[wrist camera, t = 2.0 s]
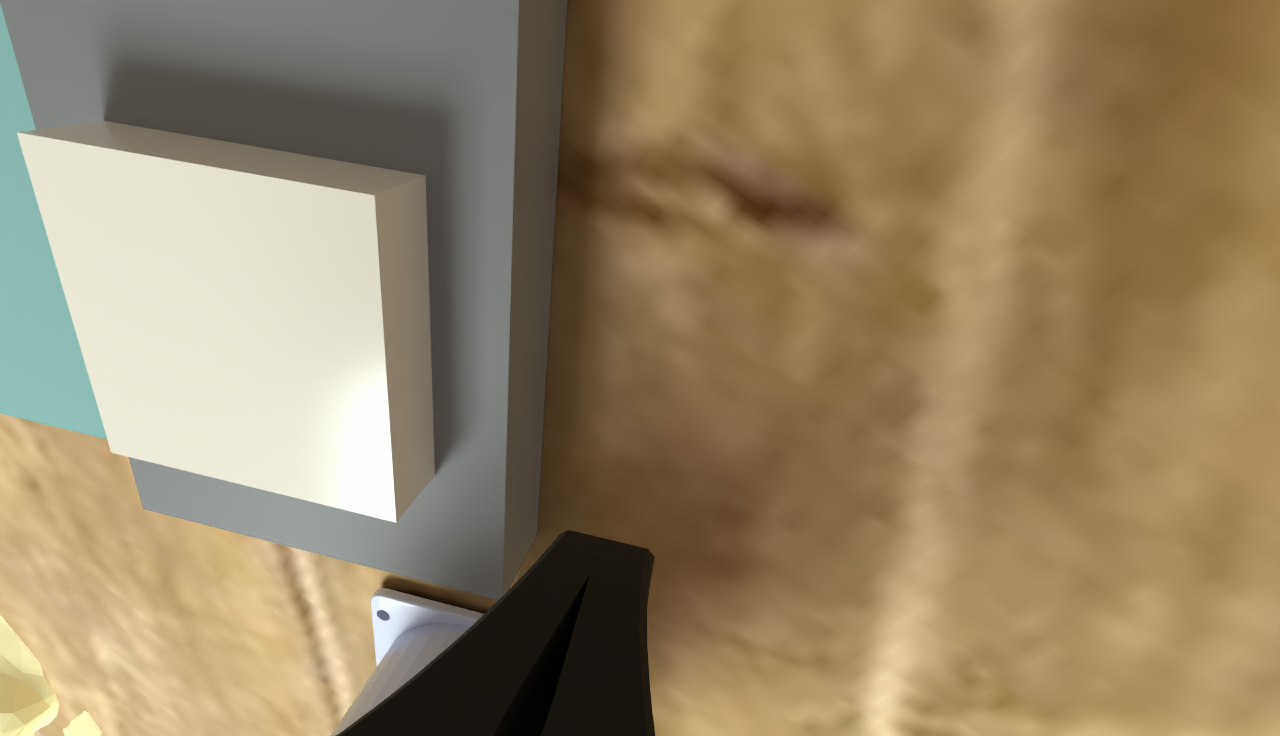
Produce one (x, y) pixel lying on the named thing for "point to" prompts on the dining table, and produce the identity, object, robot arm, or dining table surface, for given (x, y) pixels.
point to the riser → (380, 137)
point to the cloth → (29, 692)
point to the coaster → (247, 309)
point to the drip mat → (33, 287)
